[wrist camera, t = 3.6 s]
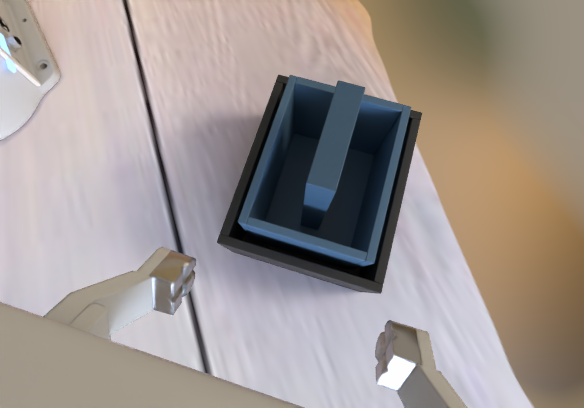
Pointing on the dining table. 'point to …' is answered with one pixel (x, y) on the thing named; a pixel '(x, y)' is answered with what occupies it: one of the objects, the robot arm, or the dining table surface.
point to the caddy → (326, 173)
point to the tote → (355, 279)
